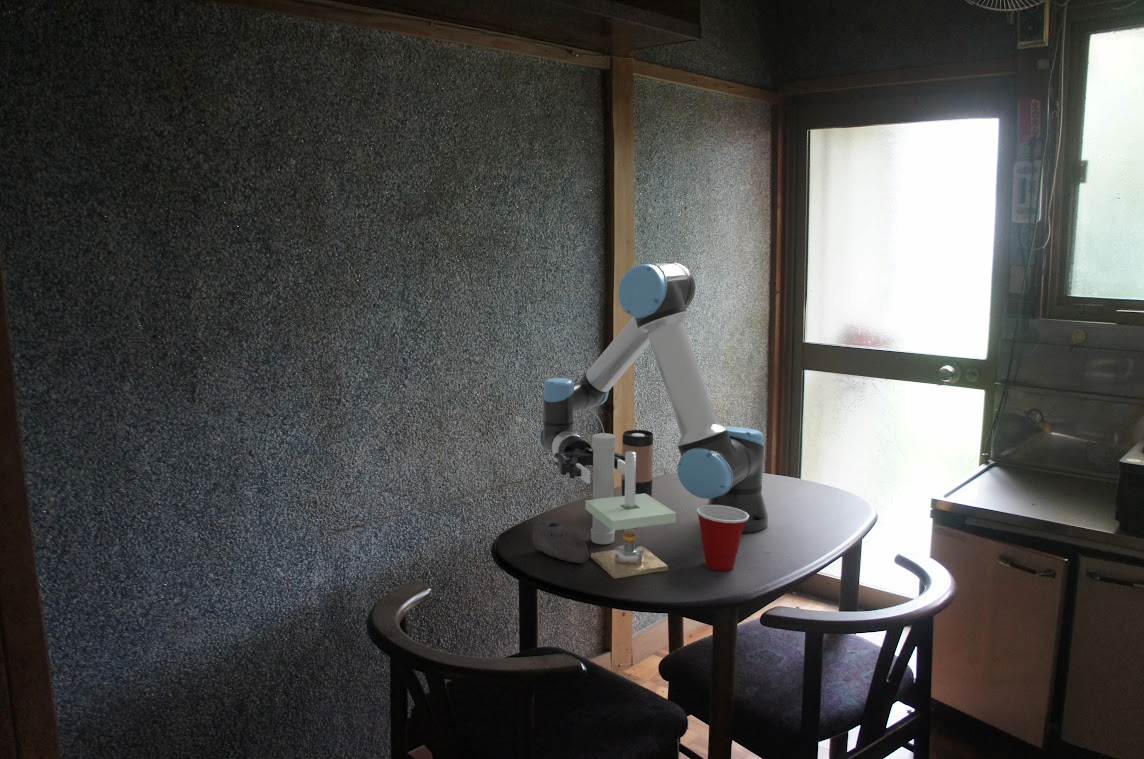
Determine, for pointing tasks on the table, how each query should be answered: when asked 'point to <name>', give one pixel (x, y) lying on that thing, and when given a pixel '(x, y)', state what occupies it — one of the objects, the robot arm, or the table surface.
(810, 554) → the table surface
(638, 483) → the travel mug
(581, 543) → the perforated stone tool
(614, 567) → the post stand
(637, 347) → the robot arm
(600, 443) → the pipe
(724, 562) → the plastic cup
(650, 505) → the pale mint square tile
